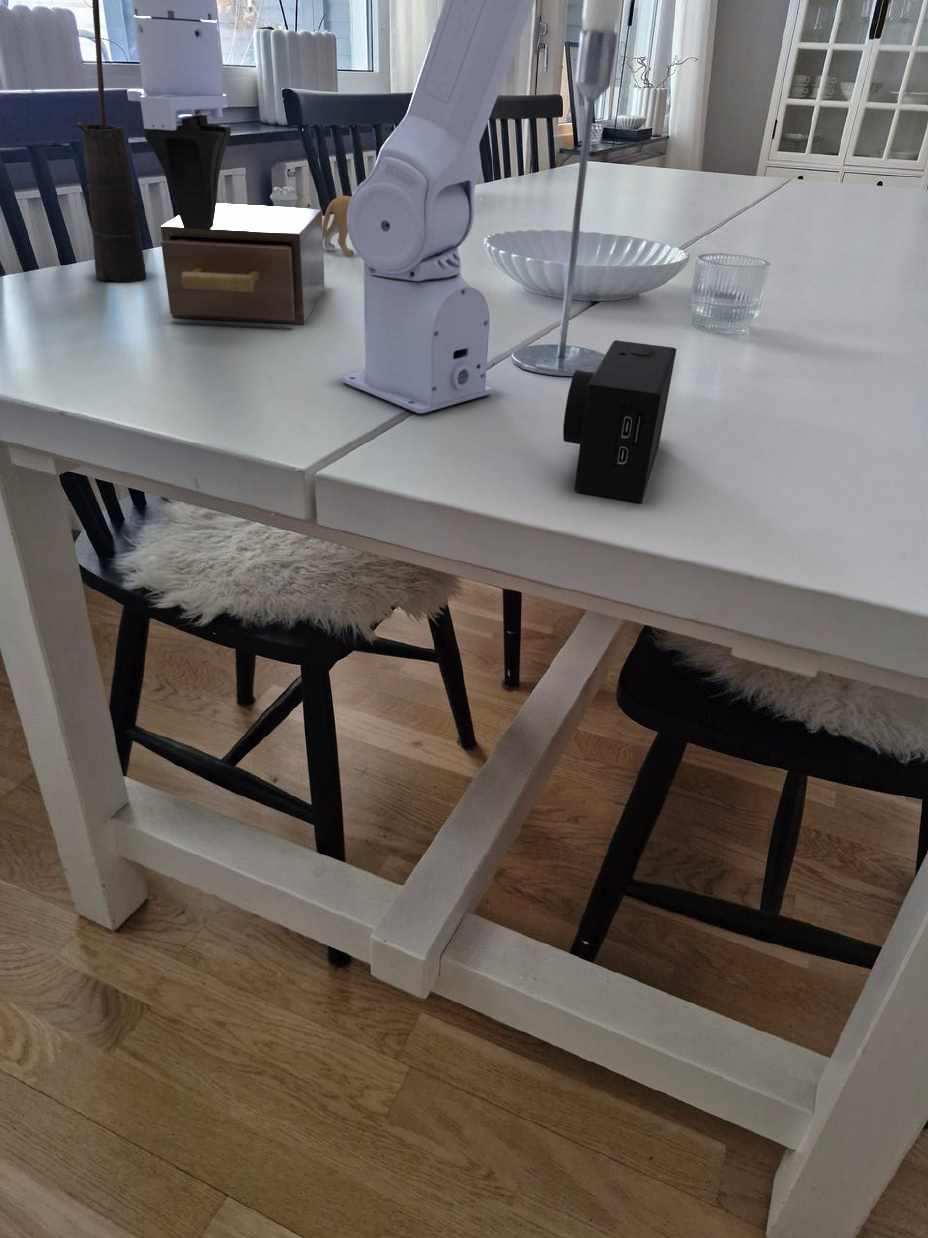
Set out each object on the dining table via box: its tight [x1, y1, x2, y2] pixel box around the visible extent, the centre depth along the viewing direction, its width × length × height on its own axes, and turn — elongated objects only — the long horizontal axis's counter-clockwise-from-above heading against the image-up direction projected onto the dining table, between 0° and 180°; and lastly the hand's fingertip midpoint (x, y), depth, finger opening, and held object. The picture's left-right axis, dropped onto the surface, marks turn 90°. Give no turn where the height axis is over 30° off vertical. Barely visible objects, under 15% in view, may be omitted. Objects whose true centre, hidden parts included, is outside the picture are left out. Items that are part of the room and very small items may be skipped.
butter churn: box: [75, 0, 147, 282], centre depth 87 cm, size 9×10×28 cm
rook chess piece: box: [269, 186, 298, 208], centre depth 105 cm, size 4×4×8 cm
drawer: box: [160, 237, 295, 321], centre depth 83 cm, size 18×11×6 cm, turn 0°
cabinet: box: [160, 203, 326, 325], centre depth 87 cm, size 15×13×8 cm
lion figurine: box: [322, 195, 355, 256], centre depth 111 cm, size 15×5×9 cm, turn 103°
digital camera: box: [562, 339, 677, 504], centre depth 56 cm, size 10×5×7 cm, turn 163°
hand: (198, 227), depth 69 cm, fingers closed
